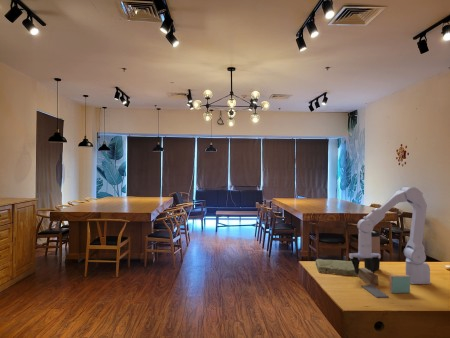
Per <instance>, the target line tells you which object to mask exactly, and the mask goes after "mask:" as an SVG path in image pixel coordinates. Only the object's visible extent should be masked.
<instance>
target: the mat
mask: <svg viewBox="0 0 450 338" xmlns="http://www.w3.org/2000/svg"><path fill="white" fill-rule="evenodd" d="M361 287H362V288H363V289H364V290H365V291H367V292H368V293H370V294H371V295H372V296H374V297H375V298H377V299H379V298H385V299H386V298H389V295H387V294H386V293H384V292H383V291H382V290H380V289H378V288H377V287H376V286H373V285H369V284H365V285H364V284H362V285H361Z"/></svg>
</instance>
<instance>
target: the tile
mask: <svg viewBox="0 0 450 338" xmlns="http://www.w3.org/2000/svg"><path fill="white" fill-rule="evenodd" d="M388 281H389V282H388V283H389V284H388V285H389V286H388V287H389V289H388V292H389V293H391V294H410V293H411V283H410V276H408V275H406V274H390V275H389V279H388Z"/></svg>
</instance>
